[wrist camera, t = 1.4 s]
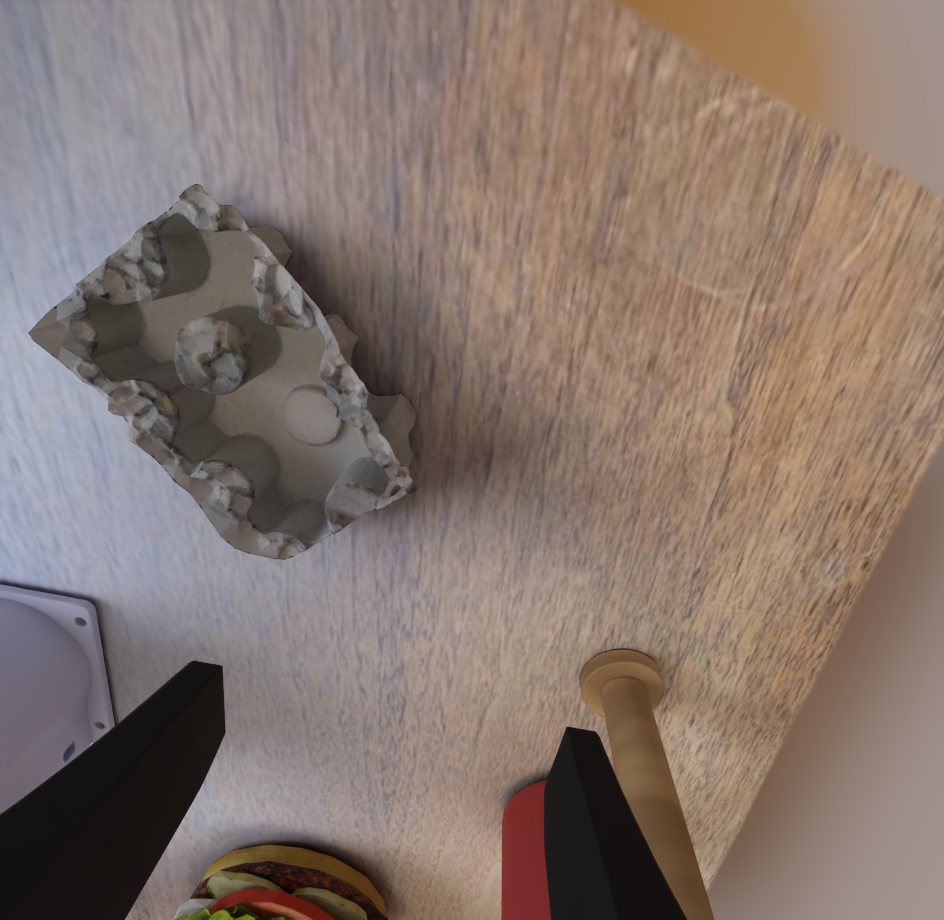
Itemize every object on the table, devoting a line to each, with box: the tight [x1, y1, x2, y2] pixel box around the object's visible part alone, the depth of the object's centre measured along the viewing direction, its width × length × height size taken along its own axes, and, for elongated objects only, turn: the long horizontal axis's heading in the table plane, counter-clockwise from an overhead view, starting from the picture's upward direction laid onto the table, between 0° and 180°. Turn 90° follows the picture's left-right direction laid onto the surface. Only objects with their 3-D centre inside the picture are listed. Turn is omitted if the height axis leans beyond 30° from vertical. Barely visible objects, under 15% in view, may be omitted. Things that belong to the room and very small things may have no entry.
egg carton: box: [29, 184, 421, 560], centre depth 17 cm, size 11×8×4 cm
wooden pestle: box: [580, 649, 714, 920], centre depth 19 cm, size 4×4×11 cm
